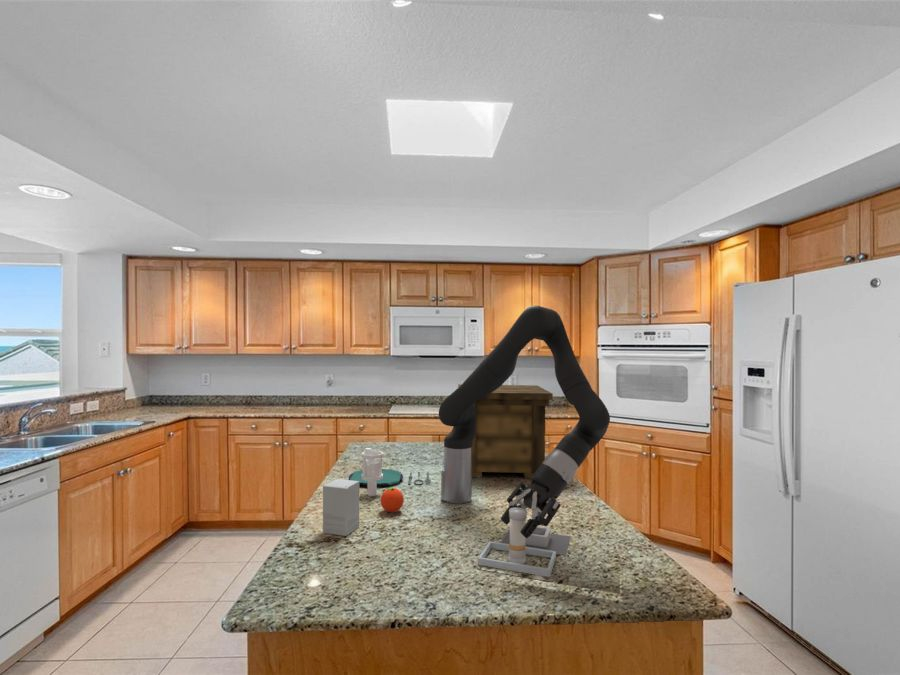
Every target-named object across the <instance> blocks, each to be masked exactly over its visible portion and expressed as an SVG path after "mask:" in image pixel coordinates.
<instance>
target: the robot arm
mask: <svg viewBox="0 0 900 675" xmlns="http://www.w3.org/2000/svg"><path fill="white" fill-rule="evenodd" d="M533 340H539V341H543V342H544V343H545V345H546V346H547V347H548V348H549V350H550V352H551V353H552V357H553V361H554V374H555V378H556V381H557V383H558V385H559V388H560V389H561V391H562V394H563V396H564V397H565V399H566V401H567V402H568V403H569V404H570V405H571V406H573V407H574V409H575V411H576V412H577V414H578V417H579V419H578V422H577V423H576V424H575V426H574V427H573V428H572V430H571V431H570V432H569V433H567V434H565V435H564V436H563V437H562V438H561V440H560V441H559V443H557V445H556V446H555V447H554V449H553V450H552V451H551V452H550V453H549V454H548V455H547V456H545V460H544V461H543V462H542V464H541V465H540V466H539V468H538V469H537V470H536V472H535V473H534V474H533V475H532V477H531V478H530V479H531V483H530V485H528V486H527V485H526V484H525V483H524V482H523V481H521V482H520V483H519V484H518V485H517V487H515V489H514V490H513V491H512V493H511V494H510V495H509V496H508V497H507V499H506V502H507V503H508V507H507V509H506V510H505V511H504V513H503V514H502V515H501V517H500V520H501V521H502V523H503V524H505V525H510V518H509V509H510V508H514V507H519V508H524V509H526V510H527V509H530V510H531V518H529V519H528V520H527V522H526V524H525V525H524V527H523V528H522V529H521V531H520V533H521V534H522V535H523V536H524V537H525V538H528V537H529V536H531V534H532V533H533V532H534V530H535V529H536V528H537V526H540V527H541V526H543V527H547V526H548V525H549V524H550V523H551V521H552V519H553V518H554V516H555V515H556V513H557V512H558V511H559V509H560V508H561V503H560V502H559V501H558V500H557V499H558V498H559V497H560V495H561V494H562V493H563V492H564V490H565V489H566V487H567V486H568V485H569V483H570V482H571V481H572V479H573V478H574V476H575V475H576V473H577V470H578V469H579V468H580V466H581V465H582V464H583V463H584V461H585V460H586V458H587V457H588V455H589V453H590V452H591V451H592V450H593V449H594V447H596V446H597V445H598V444H599V442H600V441H601V440H602V439H603V438H604V436H605V435H606V433H607V430H608V428H609V425H610V421H611V417H610V416H611V415H610V413H609V410H608V408H607V406H606V405H605V403H604V401H603V400H602V399H601V398H600V397H599V395H598V394H597V392H595V391H594V390H593V388H592V385H591V384H590V381H588V378H587V377H586V375H585V373H584V372H583V369H582V368H581V366H580V364H579V362H578V360H577V358H576V355H575V352H574V350H573V347H572V345H571V341H570V339H569V336H568V334H567V330H566V328H565V324H564V322H563V320H562V318H561V315H560V314H559V313H558V312H557V311H556V310H554V309H552V308H548V307H544V306H541V305H530V306H528V307H526V308H525V310H524V311H522V312H521V314H520V315H519V316H518V318H517V319H516V320H515V322H514V323H513V324H512V326H511V327H510V329H509V330H508V332H506V334H505V336H503V337H502V339H501V340H500V341H499V342H498V343H497V345H496V346H495V347H494V348H493V349H492V350H491V351H490V353H489V354H487V356H485V358H484V359H483V360H482V361H481V362H479V364H478V366H477V367H476V368H475V369H474V370H473V372H471V374H469V376H468V377H467V378H466V379H465V380H464V382H463V383H461V384H462V385H461V386H460V387H459V388H458V387H457V389H455V390H454V391H453V392H451V394H450V395H448V396H447V397H446V398H445V399H444V400H442V402H441V404H440V406H439V409H438V418H439V420H440V422H441V423H442V424H443V425H445V426H447V427H452V430H451V431H450V432H449V433H448V434H447V435H446V436H445V437H444V439H443V469H442V470H441V472H440V473H441V474H440V476H441V479H440V480H441V483H440V486H441V488H440V489H441V491H440V493H441V494H440V500H441V501H445V502H447V503H451V504H465V503H469V502H471V501H472V489H473V487H472V486H473V484H472V483H473V479H472V478H473V477H472V442H473V439H474V436H475V423H476V409H475V405H474V403H475V402H476V401H478V400H480V399H481V398H483V397H485V396H487V395H488V394H490V393H492V392H493V391H495V390H496V389H498V388H499V387H500V386H501V385H504V383H505V382H506V381H508V379H509V378H510V377H511V376H512V375H513V373H514V371H515V369H516V366H517V361H518V356H519V354H520V353H521V352H522V350H523V349H524V348H525V347H526V346H527V345H528V344H529V343H530V342H532V341H533ZM514 498H515V499H514ZM546 515H547V516H546Z"/></svg>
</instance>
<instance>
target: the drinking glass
mask: <svg viewBox="0 0 900 675" xmlns="http://www.w3.org/2000/svg"><path fill="white" fill-rule="evenodd" d="M383 457H384V452H383V451H380V450H373V448H369V447H366V448H364V451H363V452H361V458H362V470H363V474H362V480H365V481H368V485H366V487H367V496H368V497H374V496H377V495H378V494H377V493H378V492H377V488H378V486H377V480H381V479H383V474H382V469H383ZM373 459H374V460H373Z"/></svg>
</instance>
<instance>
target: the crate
mask: <svg viewBox="0 0 900 675" xmlns="http://www.w3.org/2000/svg"><path fill="white" fill-rule="evenodd" d="M462 384H463V383H461V384H460V383H459V384H457V388H459V387H460V386H461V385H462ZM553 395H554V394H553V392H551V391H548V390H547V389H544V388H542V387H541V386H539V385H535V384H534V385H533V384H532V385H531V384H530V385H522V384H520V385H519V384H517V385H516V384H515V385H514V384H510V385H509V384H502V385H501V386H500V387H499V388H498V389H496V390H495V391H493V392H492V393H490V394H488V395H487V396H485V397H483V398H481V399H480V400H478V401H476V402H475V403H474V405H475V409H476V423H475V436H474V439H473V442H472V478H482V477H483V473H522V476H523V477H524V478H525V477H526V478H525V479H531V478H530V477H532V475H533V474H534V473H535V472H536V470H537V469H538V468H539V466H540V465H541V464H542V462H543V461H544V460H545V459H546V453H545V452H546V437H545V436H546V407H547V406H548V407H549V405H550V401H553V400H554V398H553V397H554V396H553Z"/></svg>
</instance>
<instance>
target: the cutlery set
mask: <svg viewBox="0 0 900 675" xmlns="http://www.w3.org/2000/svg"><path fill="white" fill-rule="evenodd" d="M362 474H363V469H360V470H355V471H353V472H352V473H350V475H349V476H348V480H352V481H359V485H362V486H367V485H368V481H365V480H362ZM382 474H383V479H381V480H377V487H378V486H379V487H380V486H387V485H389V486H394V485H398V484H399V482H401V481H402V480H403V479H404V476H403V474H402V471H399V470H396V469H386V468H385V469H384V468H382ZM429 474H430V471H426V479H424V480H422V479H421V478H420V477H421V476H420V475H421V471H417V479H415V480H414V484H415V485H418V486H420V485H421V484H423V483H424V482H425V486H431V483H432V481H431V480H432V479H431V478H430V476H429ZM412 475H413V472H409V476H408V483H407V484H408V486H411V482H412V479H413V476H412ZM418 482H420V483H418Z"/></svg>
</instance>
